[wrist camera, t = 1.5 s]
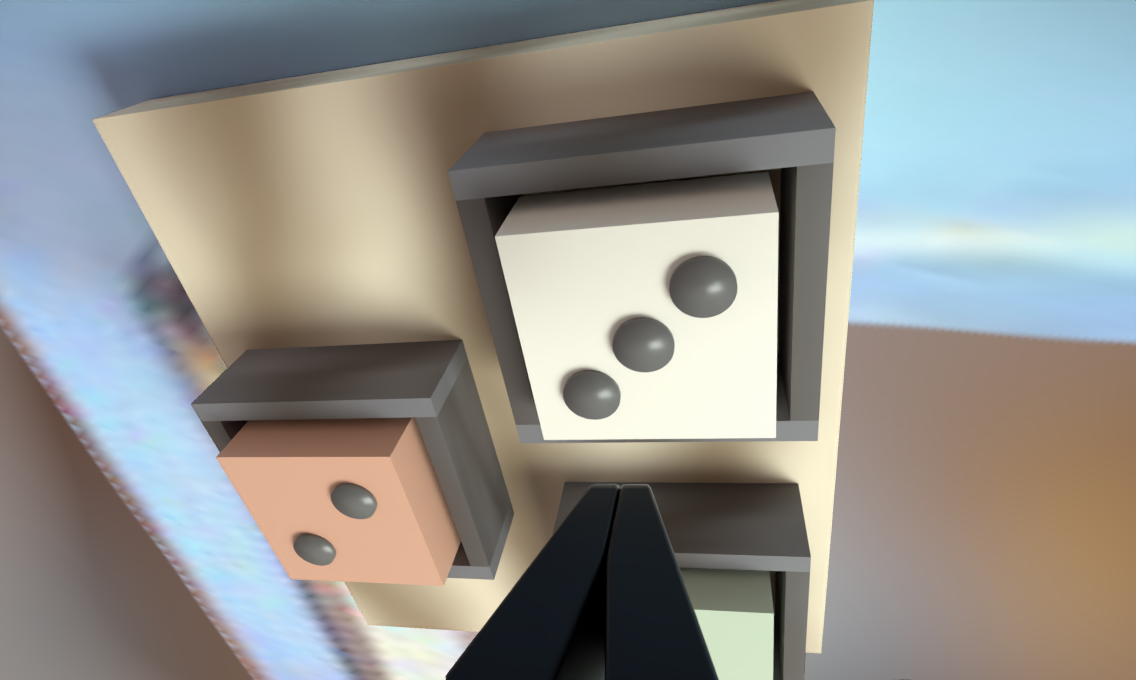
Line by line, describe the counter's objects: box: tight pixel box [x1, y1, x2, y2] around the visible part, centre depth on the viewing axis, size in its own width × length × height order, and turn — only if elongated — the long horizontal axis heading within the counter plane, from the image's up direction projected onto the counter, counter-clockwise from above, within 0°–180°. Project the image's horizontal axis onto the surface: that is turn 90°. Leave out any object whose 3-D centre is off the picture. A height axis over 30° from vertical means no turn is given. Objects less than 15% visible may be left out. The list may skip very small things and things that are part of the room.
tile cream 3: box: [495, 172, 779, 440], centre depth 13 cm, size 5×5×2 cm
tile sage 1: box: [679, 567, 774, 680], centre depth 19 cm, size 5×5×2 cm
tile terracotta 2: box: [216, 417, 461, 586], centre depth 18 cm, size 5×5×2 cm
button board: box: [92, 0, 874, 680], centre depth 19 cm, size 18×21×5 cm
